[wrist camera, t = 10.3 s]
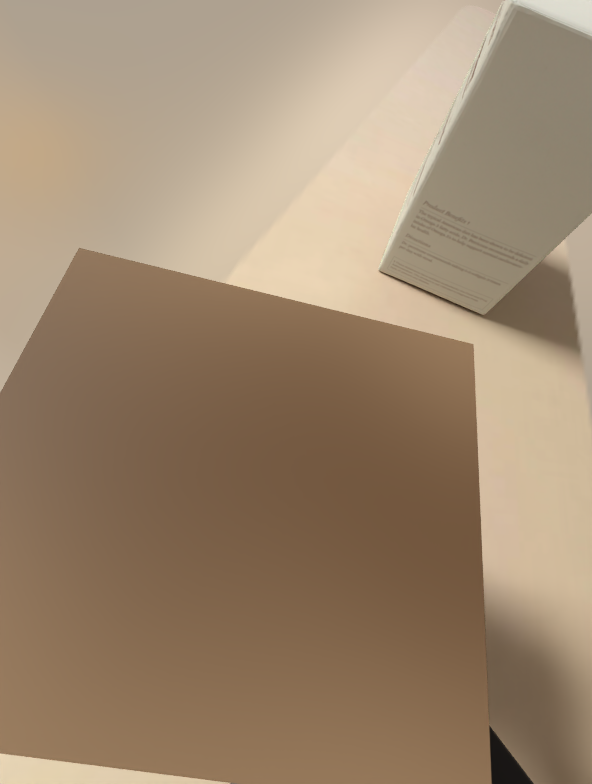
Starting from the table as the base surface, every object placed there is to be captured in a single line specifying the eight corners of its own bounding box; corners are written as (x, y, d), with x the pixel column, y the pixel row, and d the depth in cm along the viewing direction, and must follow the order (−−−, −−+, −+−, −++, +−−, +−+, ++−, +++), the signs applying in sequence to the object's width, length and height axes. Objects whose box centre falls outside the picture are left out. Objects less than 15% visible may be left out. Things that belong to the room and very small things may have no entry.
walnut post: (279, 612, 15) (491, 815, 3) (149, 590, 14) (-183, 729, 3) (298, 495, 17) (473, 344, 5) (183, 472, 16) (78, 247, 5)
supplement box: (501, 240, 26) (711, -3, 15) (483, 320, 23) (734, 88, 12) (403, 197, 26) (539, -78, 15) (372, 270, 23) (514, -9, 12)
